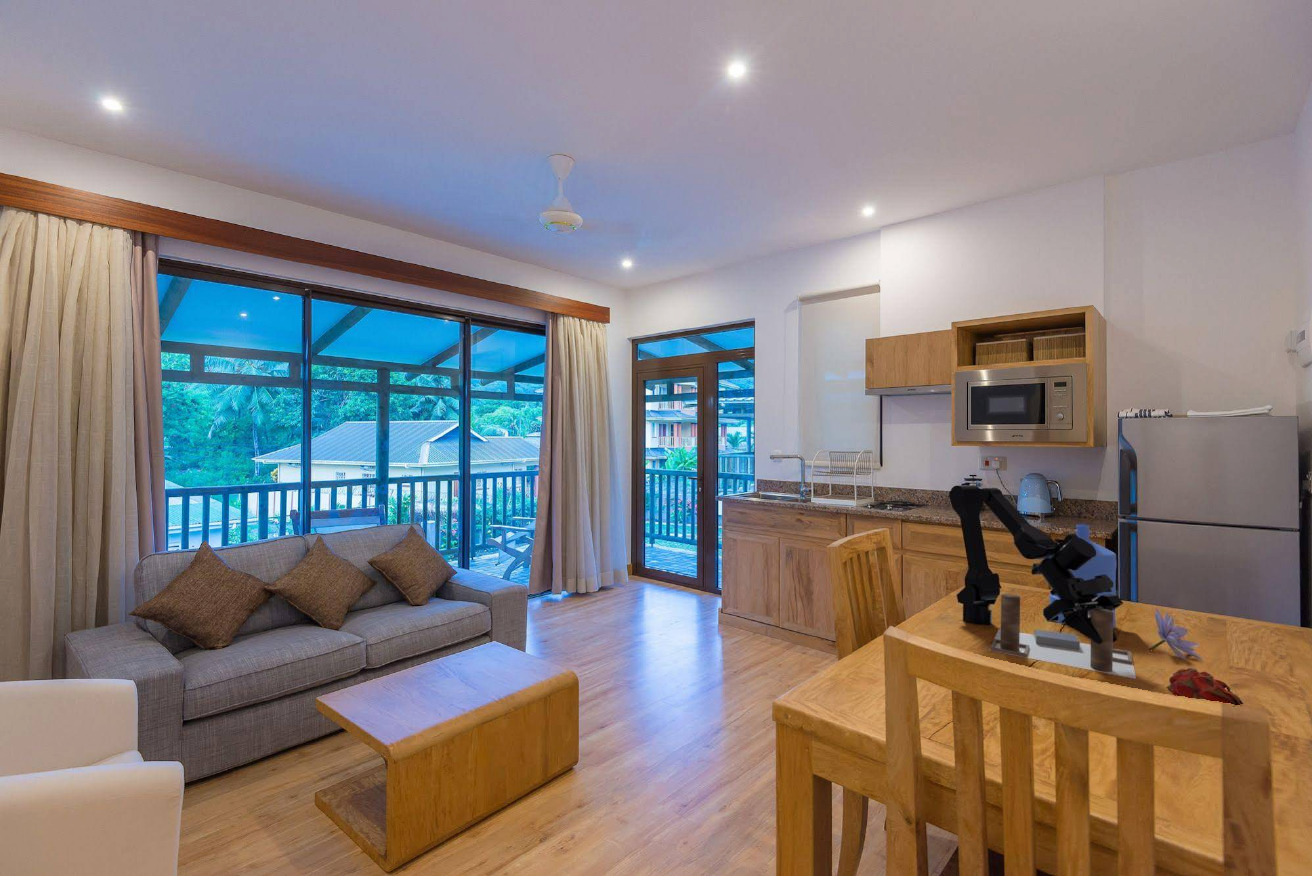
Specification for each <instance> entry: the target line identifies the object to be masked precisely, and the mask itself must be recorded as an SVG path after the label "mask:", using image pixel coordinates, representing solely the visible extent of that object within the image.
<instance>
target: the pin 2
mask: <svg viewBox="0 0 1312 876" xmlns="http://www.w3.org/2000/svg"><path fill="white" fill-rule="evenodd" d="M1091 623H1092V625H1093V626H1094V628H1095V629H1096V631H1097V632H1098V634H1099V635H1100V637H1101V639H1102V641H1103V643H1101V644H1097V643H1096V642H1094V641H1093V640H1091V639H1090V645H1091V659H1090V667H1091V668H1093V669H1095V670H1099V671H1104V672H1111V671H1112V667H1113V649H1114V642H1113V612H1112V611H1110V610H1106V609H1100V608H1092V609H1091Z"/></svg>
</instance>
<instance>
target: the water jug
mask: <svg viewBox="0 0 1312 876" xmlns="http://www.w3.org/2000/svg"><path fill="white" fill-rule="evenodd" d="M1075 526H1076V530H1075V534H1076V535H1077V536H1078V538H1081V539H1083V540H1085V541H1087V542H1088V543H1089V544H1091V545H1092V546H1093V547H1094V548H1095V550H1096V556H1095V557H1094V558H1092V559H1091V560H1090V561H1089V562H1087V563H1086V564H1085V565H1083V566H1082V567H1081V568H1080V569H1078V570H1071V569H1070V571H1071V572H1072V573H1073V575H1074V576H1075V577H1076V578H1082V579H1084V581H1085V580H1090V579H1095V576H1100V575H1104V574H1106V575H1107V576H1108V577H1109V578H1110V579H1111V581H1113V587H1112V588H1111V590H1112V592H1103V593H1098V594H1097V595H1098V597H1100V596H1101V595H1109V594H1113V595H1117V589H1116V588H1117V587H1116V584H1117V583H1116V580H1117V577H1116V575H1117V571H1116V570H1117V565H1118V564H1117V554H1116V553H1115V552H1113V551H1112V550H1109V549H1108V548H1106V547H1104V546H1102V545H1100V544H1098V543H1095V542H1094V541H1092V540H1091V539H1090V533H1091V532H1090V525H1087V524H1075ZM1053 556H1054V555H1053ZM1051 590H1052V588H1050V591H1051ZM1098 597H1097V598H1098ZM1055 600H1059V597H1058V596H1057V595H1052V594H1051V593H1050V592H1049V604H1048V605H1050V604H1051V603H1052V602H1054V601H1055ZM1063 616H1064V615H1063V614H1059V615H1058V620H1057V621H1054V623H1056V624H1062V623H1061V621H1062V620H1064V619H1065V618H1064V617H1063ZM1116 622H1117V621H1116V609H1115V610H1113V629H1115V628H1116V624H1117V623H1116Z"/></svg>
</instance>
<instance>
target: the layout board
mask: <svg viewBox="0 0 1312 876" xmlns="http://www.w3.org/2000/svg"><path fill="white" fill-rule="evenodd" d="M1000 643H1001V628H998V630H997V633H996V634H995V636H994V638H993V641H992V642H991V645H990V647H989V652H990V651H991V652H994V653H995V652H996V653H999V654H1006V655H1011V656H1017V657H1021V658H1026V659H1031V660H1032V659H1033V660H1037V661H1043V662H1047V663H1052V664H1058V665H1062V666H1068V667H1071V668H1072V667H1073V668H1078V669H1081V670H1082V669H1083V670H1087V671H1094V672H1097V673H1098V672H1099V673H1104V674H1109V675H1114V676H1120V677H1124V678H1130V679H1135V680H1136V678H1137V677H1136V673H1135V672H1136V670H1135V667H1134V663H1133V662H1134V661H1133V656H1132V652H1131V651H1128V650H1123V649H1117V648H1113V667H1112V671H1111V672H1104V671H1099V670H1095V669H1093V668H1091V667H1090V659H1091V644H1088V643H1082V642H1080V650H1075V649H1069V648H1062V647H1055V646H1048V645H1041V644H1036V642H1035V639H1034V634H1030V633H1024V632H1020V641H1019V652H1016V651H1011V650H1005V649H1001V648H1000Z"/></svg>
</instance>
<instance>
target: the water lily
mask: <svg viewBox="0 0 1312 876" xmlns="http://www.w3.org/2000/svg"><path fill="white" fill-rule="evenodd" d="M1154 616H1155V618H1154V619H1155V622H1156V625H1157V628H1158V629H1157V634H1158V636H1159V638H1160V639H1161V641H1159V642H1157V643H1156V644H1153V646H1151V647H1150V648H1149V650H1150V651H1151V650H1152V651H1154V650H1156V648H1158V647H1159V646H1160V645H1162V644H1164V643H1167V645H1168V647H1169V648H1170V650H1172V651H1173V652H1174V654H1175V655H1176V656H1178V657H1179V658H1180V659H1187V657H1186V656H1185V655H1184V654H1183V653H1185V654H1188V655H1190V656H1192V657H1194V658H1197V659H1200V660H1201V661H1204V660H1205V659H1204V658H1203V657H1201V656H1200V655H1199V654H1197V653H1195V652H1196V650H1195V649H1194V648H1193V647H1200V644H1199V643H1196V642H1194V641H1190V640H1185V639H1184V637H1185V636H1186V635H1187V634H1188V628H1185V627H1181V626H1179V625H1174V623H1175V621H1174V620H1175V619H1174V616H1171V617H1170V614H1169V612H1166V613H1165V614H1164V617H1163V616H1162V614H1161V612H1160V611H1159V609H1158V608H1155V613H1154ZM1152 651H1151V652H1152ZM1181 651H1182V652H1183V653H1182V652H1181Z"/></svg>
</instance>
